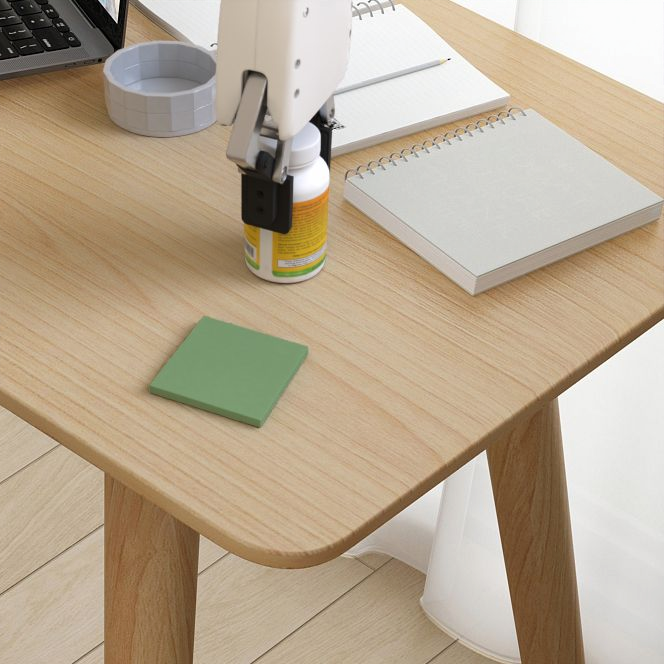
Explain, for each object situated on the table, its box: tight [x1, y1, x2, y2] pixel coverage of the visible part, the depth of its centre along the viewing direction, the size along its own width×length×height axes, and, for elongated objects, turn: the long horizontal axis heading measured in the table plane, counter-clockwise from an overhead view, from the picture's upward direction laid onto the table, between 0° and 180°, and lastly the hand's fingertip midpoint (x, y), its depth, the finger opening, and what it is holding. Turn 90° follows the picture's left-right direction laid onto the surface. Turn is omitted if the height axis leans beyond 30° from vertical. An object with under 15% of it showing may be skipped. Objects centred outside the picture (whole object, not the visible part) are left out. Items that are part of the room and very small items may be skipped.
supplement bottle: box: [243, 119, 331, 284], centre depth 76 cm, size 5×5×10 cm
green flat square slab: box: [148, 315, 309, 428], centre depth 70 cm, size 7×7×1 cm
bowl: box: [102, 40, 218, 138], centre depth 93 cm, size 9×9×4 cm
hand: (286, 199), depth 76 cm, fingers closed on supplement bottle, 5 cm apart
